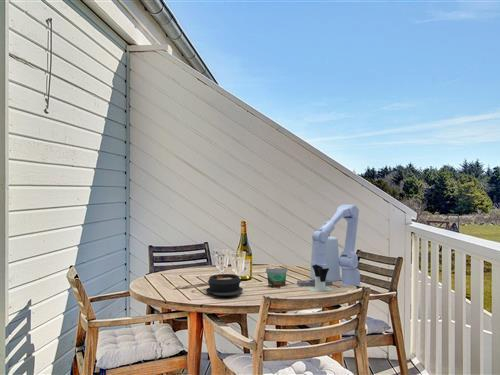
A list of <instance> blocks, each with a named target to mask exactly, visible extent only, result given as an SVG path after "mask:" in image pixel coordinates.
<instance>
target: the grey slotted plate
mask: <svg viewBox="0 0 500 375" xmlns="http://www.w3.org/2000/svg"><path fill="white" fill-rule="evenodd" d="M296 284H297V286H299V287H301V288H302V287H315V280H314V279H301V280H296ZM330 286H333V281H330V280H329V279H326V280H325V287H330Z"/></svg>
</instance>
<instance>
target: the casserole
mask: <svg viewBox="0 0 500 375" xmlns="http://www.w3.org/2000/svg"><path fill="white" fill-rule="evenodd" d="M207 283H208V285H209V287H207V288H206V290H205V291H206V292H207V293H209V294H212V295H214V296H218V297H228V296H230V297H231V296H237V295H239V294H240V293H241V292H242V291H244V288H242V286H240V285H241V283H242V280H241V278H240V276H239V275H237V274H233V273H232V274H231V273H220V274H214V275H211V276H209V278H208V280H207Z"/></svg>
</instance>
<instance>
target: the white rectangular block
mask: <svg viewBox="0 0 500 375" xmlns="http://www.w3.org/2000/svg"><path fill="white" fill-rule="evenodd" d="M314 287H315V289H317V290H321V289H325V287H326V286H325V282H321V281H320V277H315V286H314Z"/></svg>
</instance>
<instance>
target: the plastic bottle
mask: <svg viewBox="0 0 500 375" xmlns="http://www.w3.org/2000/svg"><path fill="white" fill-rule="evenodd" d="M339 257H340V254H339V242H338V238H337V237H335V236H333V235H331V233H330V234H329V236H328V240H327V241H326V265H327V268H329V271H328V273H327V275H326V279H329V280H330V281H332V282H339V281H341V280H342V275H341V266H340V265H339V263H338V260H339ZM314 260H315V245H314V241H313V239H312V242H311V262H310V278H311V279H310V280H315V277H316V276H315V272H314V269H313V267H312V265H315V264H313V262H314Z"/></svg>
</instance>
